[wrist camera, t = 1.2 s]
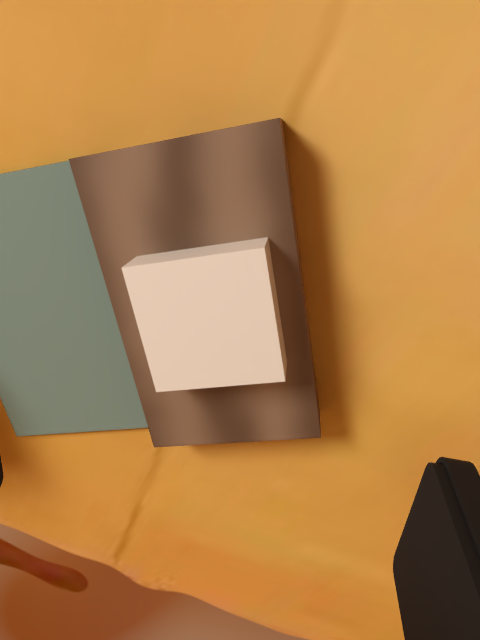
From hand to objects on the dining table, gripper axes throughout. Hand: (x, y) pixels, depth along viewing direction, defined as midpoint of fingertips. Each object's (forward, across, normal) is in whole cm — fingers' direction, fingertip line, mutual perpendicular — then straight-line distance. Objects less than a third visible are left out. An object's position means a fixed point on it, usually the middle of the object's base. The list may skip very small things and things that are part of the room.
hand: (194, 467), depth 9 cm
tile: (+18, +3, +4) cm, 18 cm away
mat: (+20, +16, +8) cm, 27 cm away
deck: (+21, +4, +4) cm, 21 cm away
